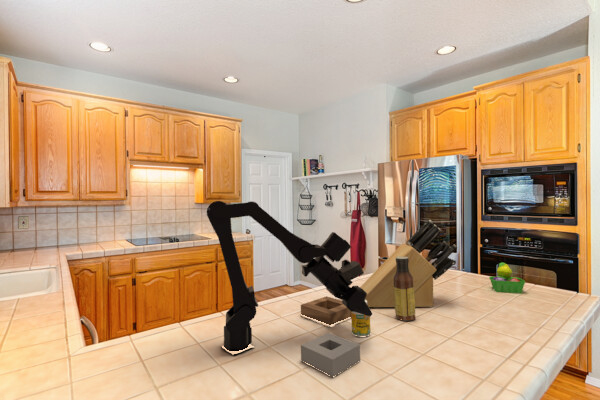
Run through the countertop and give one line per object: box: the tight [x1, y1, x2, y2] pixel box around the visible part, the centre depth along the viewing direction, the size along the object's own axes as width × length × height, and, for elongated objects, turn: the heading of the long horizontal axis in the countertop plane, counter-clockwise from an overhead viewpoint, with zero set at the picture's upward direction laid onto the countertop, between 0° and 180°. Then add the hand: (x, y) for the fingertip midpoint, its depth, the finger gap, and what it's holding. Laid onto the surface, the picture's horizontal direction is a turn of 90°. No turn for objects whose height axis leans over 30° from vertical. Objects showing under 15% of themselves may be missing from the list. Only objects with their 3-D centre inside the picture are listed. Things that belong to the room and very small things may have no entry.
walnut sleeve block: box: [300, 296, 351, 325], centre depth 104 cm, size 13×13×4 cm
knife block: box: [359, 219, 458, 308], centre depth 117 cm, size 11×35×31 cm, turn 89°
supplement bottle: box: [350, 300, 372, 337], centre depth 90 cm, size 5×5×10 cm
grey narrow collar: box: [300, 332, 361, 378], centre depth 75 cm, size 10×10×4 cm
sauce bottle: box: [394, 257, 416, 322], centre depth 102 cm, size 7×6×20 cm
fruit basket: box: [488, 262, 526, 294], centre depth 131 cm, size 11×9×11 cm
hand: (364, 309), depth 90 cm, fingers open, 9 cm apart
